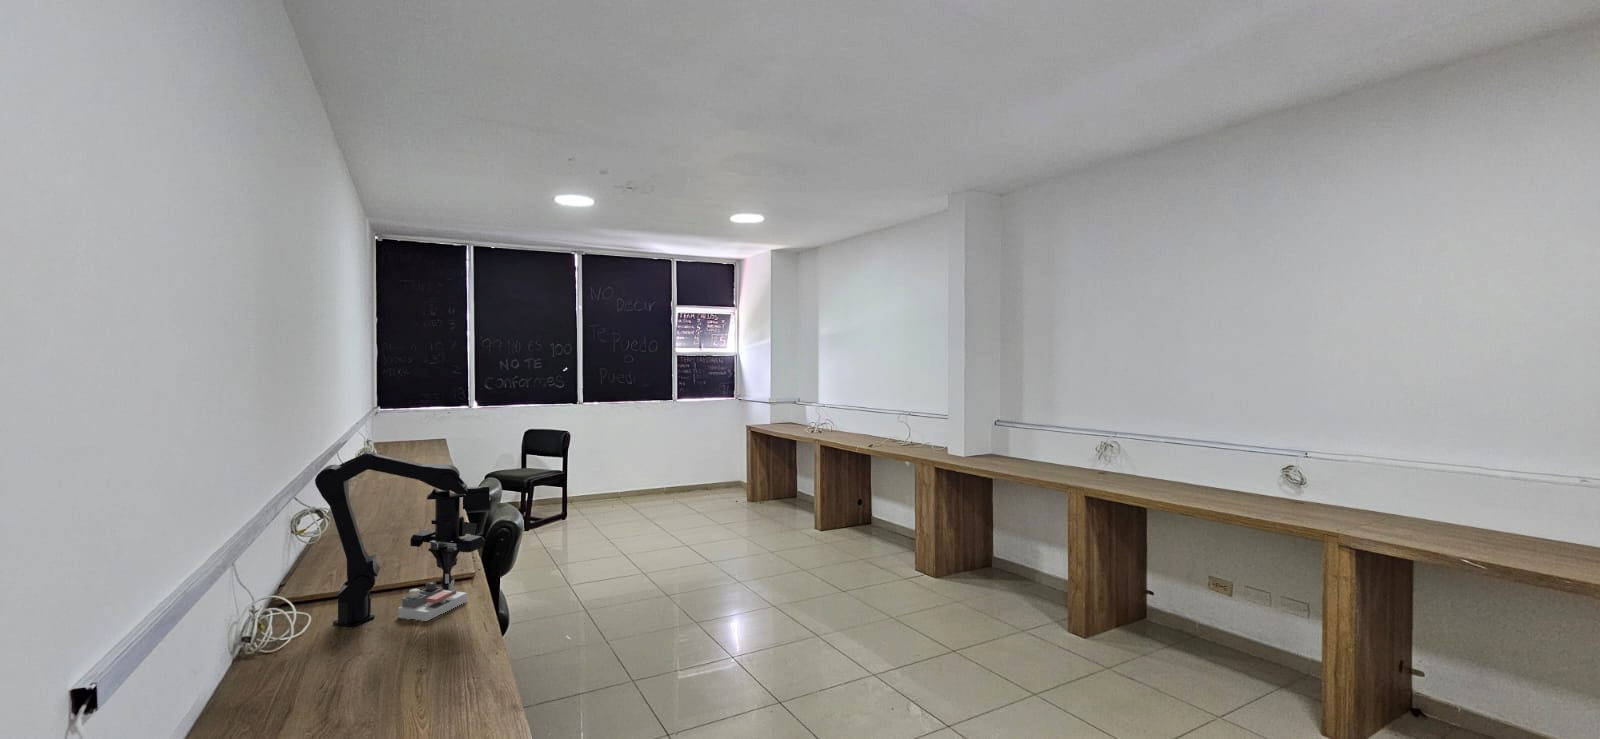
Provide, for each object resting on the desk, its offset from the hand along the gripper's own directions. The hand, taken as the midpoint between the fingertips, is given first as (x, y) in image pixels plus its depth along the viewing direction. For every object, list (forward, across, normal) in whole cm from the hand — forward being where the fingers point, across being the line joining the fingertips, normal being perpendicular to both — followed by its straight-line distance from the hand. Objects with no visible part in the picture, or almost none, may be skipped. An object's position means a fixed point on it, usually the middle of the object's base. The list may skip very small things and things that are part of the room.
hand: (447, 573), depth 180 cm
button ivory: (+5, +5, +5) cm, 9 cm away
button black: (+5, +5, 0) cm, 7 cm away
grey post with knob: (+10, +10, -10) cm, 17 cm away
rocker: (+6, 0, +2) cm, 6 cm away
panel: (+9, +3, +2) cm, 10 cm away
